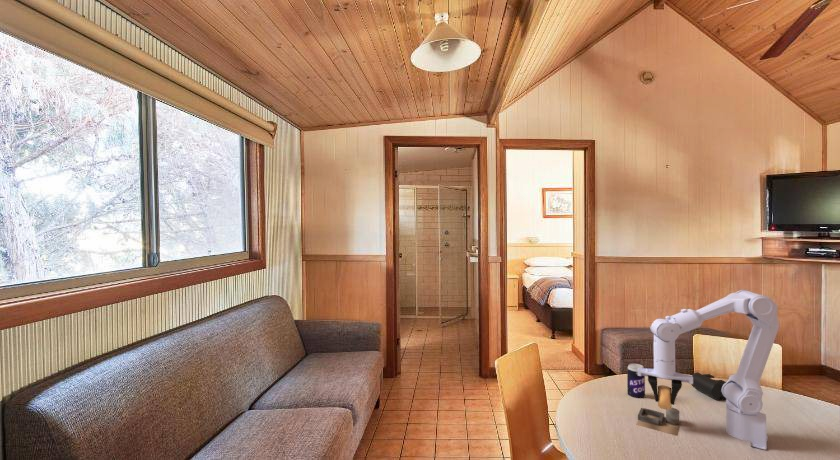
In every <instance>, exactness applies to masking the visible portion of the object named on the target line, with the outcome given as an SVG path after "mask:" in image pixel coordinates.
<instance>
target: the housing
mask: <svg viewBox="0 0 840 460" xmlns="http://www.w3.org/2000/svg"><path fill="white" fill-rule="evenodd" d="M681 423H682V421H680V410H679V409H678V408H675V407H672V408H671V409H670V410H666V409H665V413H663V412H662V411H659V410H658V411H656V410H654V409H649V408H645V407H644V408H643V407H641V408H640V410H639V412H638V414H637V422H636V426H640V427H644V428H646V429H651V430H654V431H657V432H661V433H666V434H669V435H672V436H675V437H678V435H679V430H680V427H681V425H682V424H681Z"/></svg>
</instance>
